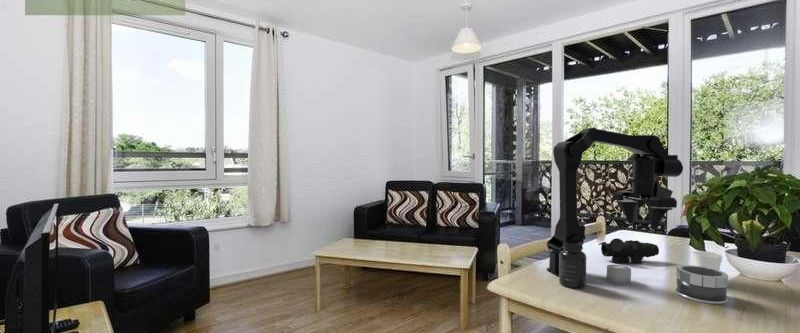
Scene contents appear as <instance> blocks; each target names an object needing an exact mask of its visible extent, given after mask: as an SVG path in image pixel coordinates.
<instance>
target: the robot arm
mask: <svg viewBox="0 0 800 333" xmlns="http://www.w3.org/2000/svg"><path fill="white" fill-rule="evenodd" d="M594 143H597V144H603V145H609V146H613V147H621V148H623V149H626V150H627V151H629V152H631V153H633V154H632V155H631V156H629V157H628V158H627V160H626V161H628V162H633V178H629V183H632V191H628V190H626V191H623V190H616V191H615V192H614V193H613V200H615V201H616V203H617V204H618V205H619V208H620V210H621V211H622V214H623V215H624V217H625V220H626V221H627V223H628V225H632V224H633V222H634V218H635V217H634V215H635V208H636V206H638V204H639V202H643V203H646V204H647V203H648V204H649V206H647V210H648V211H647V212H648V217H649V224H650V228H651V230H652V231H656V230H657V228H658V226H659V224H660V222H661V220H662V218H663V217H664V215H665V214H666V213H667V212H668V211H673V208H674V209H675V208H677V206H678V201H677V199H676V198H675V197H672V196H673V195H672V194H673V192H674V190H671V189H669V188H667V187H664V186H662V185H660V181H659V180H658V179H656V177H658V178H659V177H664V178H670V177H671V178H677V177H680V176H681V174H682V173H683V171H684V166H683V163H682V161H681V160H680V159H678V157H679V155H677V154H669V153H668V152H667V150H666V149H665V147H664V145H663V144H662V141H661V140H660V136H657V135H656V134H655V135H653V134H641V135H638V134H635V135H634V134H633V135H631V134H627V133H620V132H615V131H610V130H609V131H608V130H605V129H598V128H596V127H587V128H584V129H582V130H580V131H579V132H578V133H576V134H575V135H572V136H571V137H569V138H567V139H566V140H564V141H559V142H558V143H557V144H555V146H554V147H553V148H552V149H553V151H552V154H553V159H554V163H555V165H556V168H557V170H558V173H559V182H558V183H559V219H558V221H557V223H556V224H555V228H554V229H555V230H554V234H553V236H552V237H551V238H550V239H548V241H546V246H547V250H549V264H548V265H549V267H547V268H546V271H548V272H550V273H551V274H553V275H555V276H557V277H559V254H560V252H561V251H562V250H564V248H563V242H564V241H565V240H575V241H580V242H582V246H583V245H584V241H585V240H587V238H586V233H585V232H586V225H585V224H581V223H580V222H579V220H578V189H577V188H578V184H577V182H578V181H577V180H578V179H577V178H578V176H577V175H578V174H577V173H578V171H579V170H578V169H579V167H580V166H581V164H582V160H583V155H584V154H583V153H584V152H586V151H587V150H589V149H590V147H591V146H592V145H593V144H594Z"/></svg>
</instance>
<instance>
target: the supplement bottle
mask: <svg viewBox="0 0 800 333" xmlns="http://www.w3.org/2000/svg"><path fill="white" fill-rule="evenodd" d="M563 248H564V250H562V251H561V252H560V254H559V276H558V281H559V284H560V285H561V286H563V287H565V288H568V289H576V290H577V289H578V290H579V289H580V290H581V289H583V288H585V287H586V285H587V255H586V253H585V252H583V251H584V250H583V249H584V248H583V245H582V242H580V241H575V240H565V241H564V242H563Z"/></svg>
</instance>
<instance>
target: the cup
mask: <svg viewBox="0 0 800 333" xmlns="http://www.w3.org/2000/svg"><path fill="white" fill-rule="evenodd" d="M691 254H692V259H693V260H692V261H693V266H702V267H707V268H712V269H716V270H719V271H720V269H721V264H722V261H723V256H722V254H719V253H717V252H712V251H704V250H694V251H691Z"/></svg>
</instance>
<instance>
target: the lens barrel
mask: <svg viewBox="0 0 800 333" xmlns="http://www.w3.org/2000/svg"><path fill="white" fill-rule="evenodd" d="M728 286H729V275H728V274H727V273H726V272H724V271H722V270H720V269H719V270H716V269H712V268H707V267H702V266H694V265H689V264H688V265H687V264H686V265H679V266H676V287H675V294H677V295H678V296H680V297H681V298H684V299H687V300H689V301H690V300H691V301H693V302H697V303H701V304H707V305H708V304H709V305H727V303H728V300H729V299H728V297H727V296H728V295H727V294H728Z"/></svg>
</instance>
